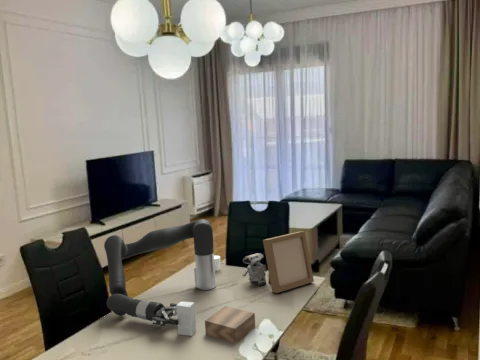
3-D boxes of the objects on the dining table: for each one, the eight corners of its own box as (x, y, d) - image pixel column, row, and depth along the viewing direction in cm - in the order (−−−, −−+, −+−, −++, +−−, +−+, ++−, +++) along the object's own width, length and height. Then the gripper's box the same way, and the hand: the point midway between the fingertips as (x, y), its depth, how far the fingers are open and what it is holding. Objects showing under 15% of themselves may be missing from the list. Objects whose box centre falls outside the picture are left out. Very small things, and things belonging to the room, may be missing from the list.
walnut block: (205, 335, 170) (204, 320, 169) (226, 319, 181) (225, 306, 180) (236, 343, 162) (235, 328, 161) (255, 327, 174) (254, 312, 173)
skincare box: (196, 331, 172) (194, 302, 171) (192, 336, 168) (189, 307, 167) (182, 329, 174) (180, 300, 173) (177, 334, 170) (175, 305, 169)
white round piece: (208, 267, 242) (207, 255, 241) (221, 266, 243) (220, 254, 241) (208, 272, 235) (208, 259, 234) (221, 271, 236) (220, 258, 235)
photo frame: (314, 283, 213) (312, 233, 209) (277, 295, 202) (274, 242, 198) (295, 274, 225) (293, 227, 222) (259, 285, 214) (256, 235, 211)
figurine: (239, 283, 217) (238, 254, 215) (259, 278, 223) (258, 250, 220) (249, 289, 209) (247, 259, 207) (269, 284, 215) (268, 254, 212)
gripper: (160, 311, 186) (193, 317, 179) (140, 327, 173) (174, 335, 167) (159, 295, 185) (192, 300, 178) (138, 310, 172) (173, 316, 165)
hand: (183, 317), depth 172 cm, fingers open, 8 cm apart
